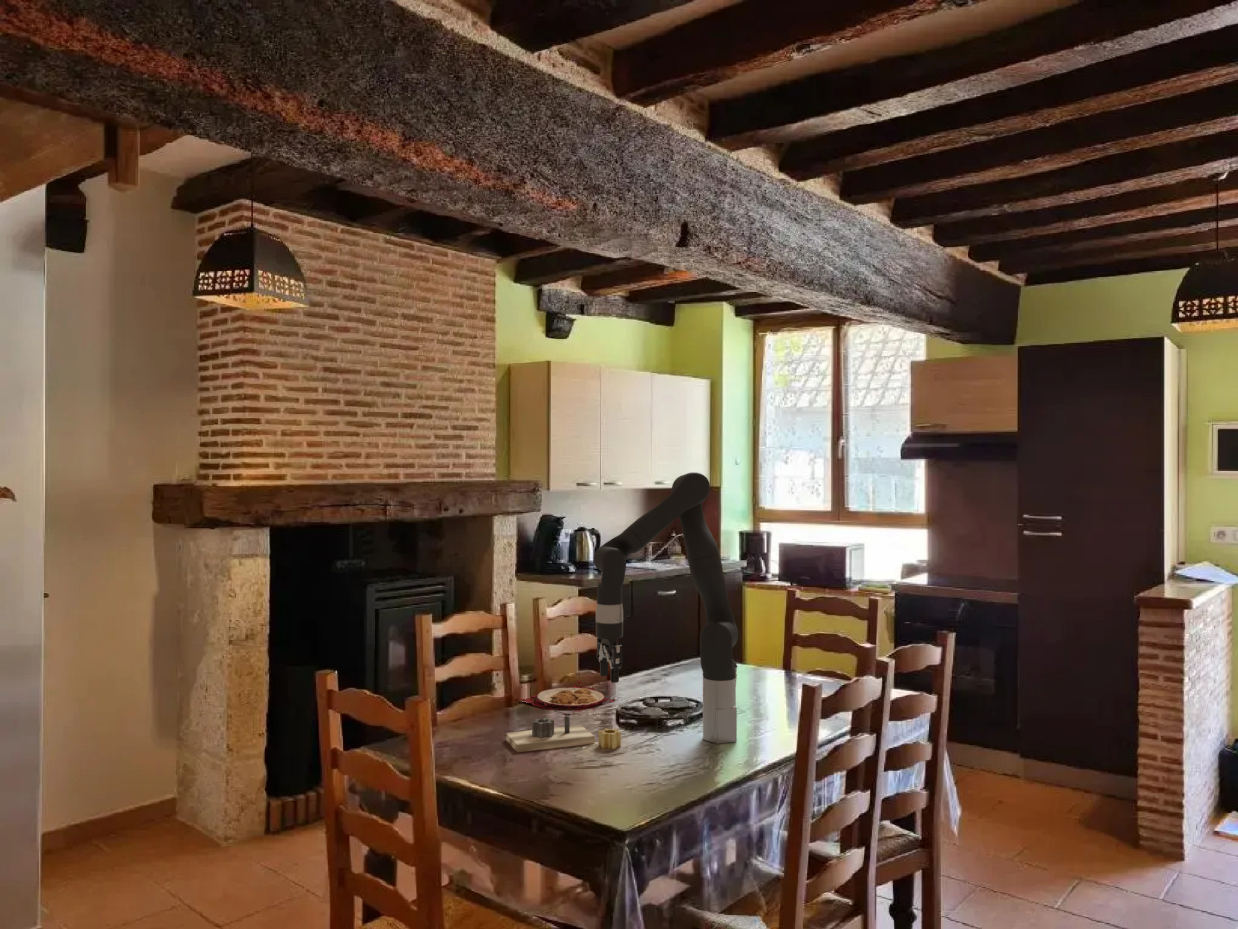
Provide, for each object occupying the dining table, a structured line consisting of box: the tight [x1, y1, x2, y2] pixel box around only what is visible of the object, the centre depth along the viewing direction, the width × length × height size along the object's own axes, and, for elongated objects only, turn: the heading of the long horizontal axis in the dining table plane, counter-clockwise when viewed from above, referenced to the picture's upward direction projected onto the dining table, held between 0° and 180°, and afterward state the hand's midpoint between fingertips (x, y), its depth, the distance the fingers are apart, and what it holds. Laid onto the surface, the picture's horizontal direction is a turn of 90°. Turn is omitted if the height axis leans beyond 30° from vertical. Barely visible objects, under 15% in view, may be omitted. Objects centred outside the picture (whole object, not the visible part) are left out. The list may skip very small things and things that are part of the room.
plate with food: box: [519, 680, 617, 716], centre depth 305 cm, size 24×26×4 cm
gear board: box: [505, 715, 596, 753], centre depth 260 cm, size 12×22×6 cm, turn 111°
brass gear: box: [598, 728, 622, 750], centre depth 256 cm, size 6×6×4 cm
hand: (609, 679), depth 256 cm, fingers open, 8 cm apart
